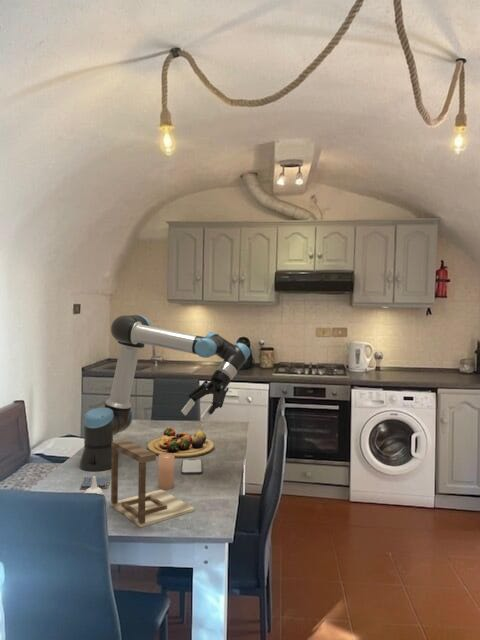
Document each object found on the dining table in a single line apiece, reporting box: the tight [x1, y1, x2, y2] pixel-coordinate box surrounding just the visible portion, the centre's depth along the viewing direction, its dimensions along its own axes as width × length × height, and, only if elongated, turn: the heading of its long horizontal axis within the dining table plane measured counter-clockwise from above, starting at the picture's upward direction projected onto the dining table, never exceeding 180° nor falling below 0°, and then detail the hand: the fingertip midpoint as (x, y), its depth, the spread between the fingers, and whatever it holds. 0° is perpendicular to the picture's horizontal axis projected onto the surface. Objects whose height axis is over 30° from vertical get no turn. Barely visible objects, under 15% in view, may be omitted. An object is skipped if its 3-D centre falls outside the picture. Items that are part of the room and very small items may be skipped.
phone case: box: [180, 458, 203, 476], centre depth 209 cm, size 9×2×16 cm
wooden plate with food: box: [146, 426, 215, 459], centre depth 237 cm, size 32×32×8 cm
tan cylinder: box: [157, 453, 176, 491], centre depth 187 cm, size 6×6×12 cm
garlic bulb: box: [84, 475, 104, 495], centre depth 175 cm, size 6×6×8 cm
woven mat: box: [79, 475, 111, 491], centre depth 188 cm, size 10×11×2 cm
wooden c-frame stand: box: [110, 438, 195, 528], centre depth 167 cm, size 21×20×22 cm
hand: (192, 416), depth 194 cm, fingers open, 13 cm apart
